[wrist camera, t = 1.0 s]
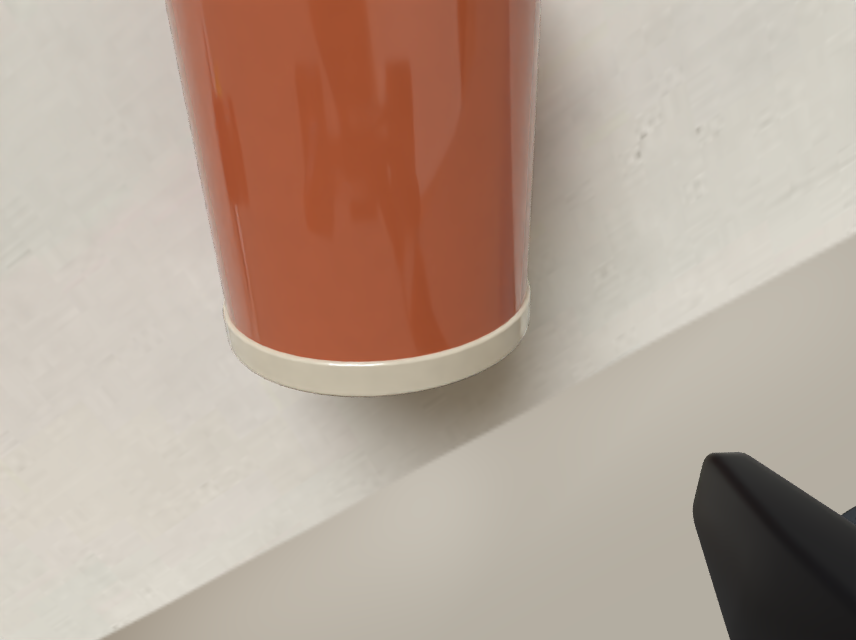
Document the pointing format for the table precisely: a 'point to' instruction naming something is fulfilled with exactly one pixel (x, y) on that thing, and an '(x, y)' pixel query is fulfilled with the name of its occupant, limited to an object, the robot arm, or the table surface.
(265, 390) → the table surface
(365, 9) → the cup
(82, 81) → the table surface
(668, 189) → the table surface
